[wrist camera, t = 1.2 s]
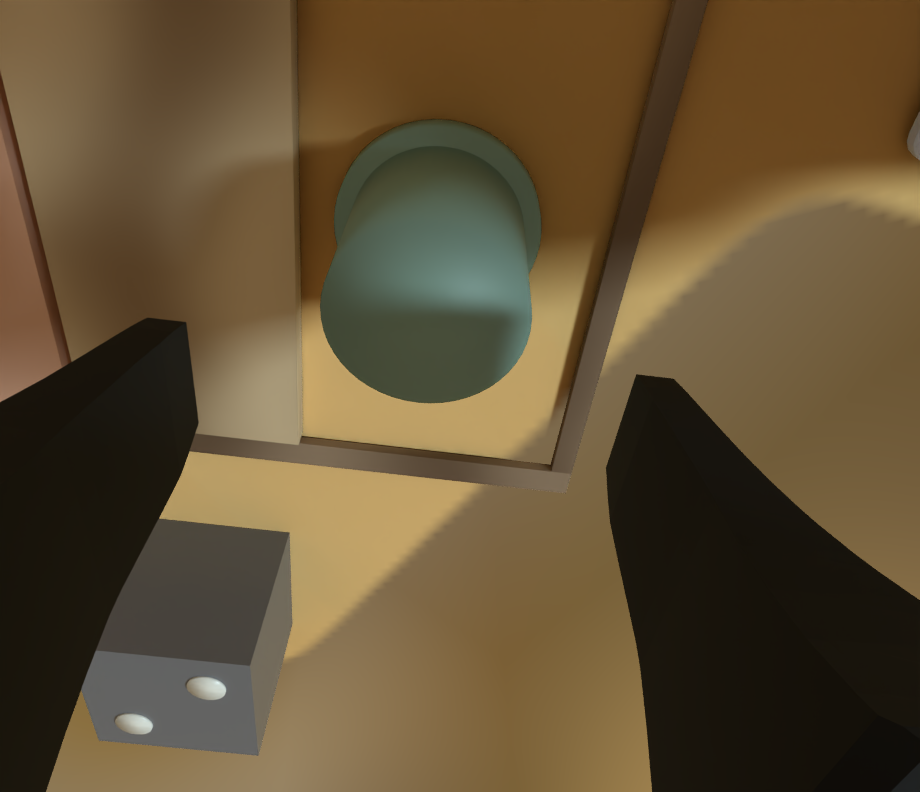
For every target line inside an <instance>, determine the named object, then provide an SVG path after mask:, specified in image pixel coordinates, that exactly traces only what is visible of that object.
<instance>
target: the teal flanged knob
mask: <svg viewBox="0 0 920 792" xmlns="http://www.w3.org/2000/svg"><path fill="white" fill-rule="evenodd" d="M334 229H335V237H336V242H337V246H338V247H337V250H336V252H335V255H334V258H333V260H332V263H331V266H330V268H329V271H328V274H327V276H326V279H325V282H324V285H323V289H322V293H321V303H320V311H321V321H322V325H323V330H324V333H325V335H326V338H327V341H328V343H329V345H330V347H331V348H332V350H333V352H334V354H335V355H336V356H337V358H338V359H339V360H340V362H341V363H342V364H343V365H344V366H345V367H346V368H347V370H348V371H349V372H351V373H352V374H353V375H354V376H355V377H356V378H358V379H359V380H360V381H362V382H363V383H365V384H366V385H368V386H369V387H371V388H373V389H375V390H377V391H379V392H381V393H383V394H386V395H389V396H391V397H394V398H398V399H402V400H406V401H412V402H418V403H444V402H450V401H456V400H460V399H464V398H467V397H470V396H472V395H475V394H478V393H480V392H482V391H484V390H485V389H487V388H489V387H491V386H492V385H494V384H495V383H496V382H498V381H499V380H500V379H502V378H503V377H504V376H505V375H506V374H507V373H508V372H509V371H510V370H511V369H512V367H513V366H514V365H515V364H516V363H517V361H518V359H519V358H520V356H521V355H522V353H523V351H524V349H525V346H526V344H527V341H528V338H529V334H530V330H531V322H532V308H531V297H530V286H529V275H528V274H529V272H530V270H531V269H532V267H533V264H534V262H535V259H536V257H537V253H538V250H539V246H540V239H541V215H540V208H539V202H538V196H537V193H536V190H535V186H534V184H533V182H532V179H531V177H530V175H529V173H528V171H527V170H526V168H525V167H524V165H523V164H522V162H521V161H520V160H519V158H518V157H517V156H516V155H515V154H514V152H513V151H512V150H511V149H509V148H508V147H507V146H506V145H505V144H504V143H503V142H501V141H500V140H499V139H497V138H496V137H494V136H493V135H491V134H490V133H488V132H486V131H484V130H482V129H479V128H477V127H475V126H472V125H469V124H466V123H462V122H457V121H452V120H442V119H430V120H419V121H415V122H410V123H406V124H403V125H400V126H398V127H395V128H393V129H391V130H389V131H387V132H385V133H383V134H381V135H380V136H379V137H377V138H376V139H375V140H373V141H372V142H371V143H369V144H368V145H367V146H366V147H365V148H364V149H363V150H362V151H361V152H360V154H359V155H358V156H357V158H356V159H355V160H354V161H353V163H352V165H351V167H350V168H349V170H348V172H347V174H346V176H345V178H344V181H343V183H342V186H341V188H340V191H339V193H338V197H337V201H336V205H335V214H334Z"/></svg>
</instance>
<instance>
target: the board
mask: <svg viewBox="0 0 920 792" xmlns="http://www.w3.org/2000/svg"><path fill="white" fill-rule="evenodd" d="M707 2H708V0H673V1H672V5H671V9H670V12H669V16H668V20H667V24H666V28H665V31H664V35H663V39H662V43H661V47H660V50H659V54H658V58H657V62H656V66H655V70H654V73H653V77H652V81H651V85H650V89H649V92H648V96H647V100H646V104H645V108H644V111H643V115H642V119H641V123H640V127H639V130H638V134H637V138H636V142H635V146H634V149H633V153H632V157H631V161H630V165H629V169H628V172H627V176H626V180H625V184H624V188H623V191H622V195H621V199H620V203H619V207H618V210H617V214H616V218H615V222H614V226H613V229H612V233H611V237H610V241H609V245H608V249H607V252H606V256H605V260H604V264H603V268H602V271H601V275H600V279H599V283H598V287H597V290H596V294H595V298H594V302H593V306H592V309H591V313H590V317H589V321H588V325H587V328H586V332H585V336H584V340H583V344H582V348H581V351H580V355H579V359H578V363H577V367H576V370H575V374H574V378H573V382H572V386H571V389H570V393H569V397H568V401H567V405H566V408H565V412H564V416H563V420H562V424H561V428H560V431H559V435H558V439H557V443H556V447H555V450H554V454H553V458H552V462H551V465H547V464H538V463H530V462H521V461H512V460H503V459H494V458H486V457H477V456H468V455H459V454H450V453H441V452H433V451H424V450H415V449H406V448H397V447H388V446H380V445H371V444H362V443H353V442H344V441H335V440H326V439H318V438H309V437H301V436H302V433H303V408H302V337H301V266H300V195H299V125H298V54H297V0H0V402H1V401H3V400H5V399H7V398H9V397H10V396H12V395H14V394H16V393H18V392H20V391H22V390H23V389H25V388H27V387H29V386H31V385H33V384H35V383H36V382H38V381H40V380H42V379H44V378H45V377H47V376H49V375H50V374H52V373H54V372H55V371H57V370H59V369H61V368H62V367H64V366H66V365H67V364H69V363H71V362H72V361H74V360H76V359H77V358H79V357H81V356H82V355H84V354H86V353H87V352H89V351H91V350H92V349H94V348H96V347H97V346H99V345H100V344H102V343H104V342H105V341H107V340H109V339H110V338H112V337H114V336H115V335H117V334H119V333H120V332H122V331H124V330H125V329H127V328H129V327H130V326H132V325H134V324H136V323H138V322H139V321H141V320H143V319H145V318H156V319H165V320H173V321H182V322H186V324H187V332H188V340H189V348H190V356H191V364H192V372H193V380H194V388H195V396H196V404H197V412H198V420H199V424H198V427H197V430H196V433H195V436H194V439H193V442H192V445H191V448H190V451H192V452H201V453H210V454H219V455H228V456H237V457H246V458H255V459H264V460H273V461H282V462H291V463H300V464H309V465H318V466H327V467H336V468H345V469H354V470H363V471H372V472H380V473H389V474H398V475H407V476H416V477H425V478H434V479H443V480H452V481H461V482H470V483H479V484H488V485H497V486H506V487H515V488H524V489H533V490H542V491H551V492H560V493H566V491H567V487H568V483H569V480H570V477H571V473H572V470H573V466H574V463H575V459H576V456H577V452H578V449H579V446H580V442H581V439H582V435H583V432H584V428H585V425H586V421H587V418H588V414H589V411H590V407H591V404H592V400H593V397H594V394H595V390H596V387H597V383H598V380H599V376H600V373H601V369H602V366H603V362H604V359H605V356H606V352H607V349H608V345H609V342H610V338H611V335H612V331H613V328H614V324H615V321H616V317H617V314H618V311H619V307H620V304H621V300H622V297H623V293H624V290H625V286H626V283H627V279H628V276H629V272H630V269H631V265H632V262H633V259H634V255H635V252H636V248H637V245H638V241H639V238H640V234H641V231H642V227H643V224H644V220H645V217H646V213H647V210H648V207H649V203H650V200H651V196H652V193H653V189H654V186H655V182H656V179H657V175H658V172H659V168H660V165H661V162H662V158H663V155H664V151H665V148H666V144H667V141H668V137H669V134H670V130H671V127H672V123H673V120H674V116H675V113H676V110H677V106H678V103H679V99H680V96H681V92H682V89H683V85H684V82H685V78H686V75H687V71H688V68H689V64H690V61H691V58H692V54H693V51H694V47H695V44H696V40H697V37H698V33H699V30H700V26H701V23H702V19H703V16H704V13H705V9H706V6H707Z"/></svg>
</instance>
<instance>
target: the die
mask: <svg viewBox="0 0 920 792" xmlns="http://www.w3.org/2000/svg"><path fill="white" fill-rule="evenodd" d="M291 627H292V597H291V565H290V533H288V532H279V531H269V530H260V529H251V528H242V527H232V526H223V525H214V524H204V523H195V522H186V521H177V520H167V519H158V521H157V523H156V525H155V527H154V529H153V530H152V532H151V534H150V536H149V538H148V540H147V542H146V544H145V546H144V548H143V550H142V551H141V553H140V555H139V557H138V559H137V561H136V563H135V565H134V567H133V569H132V571H131V573H130V574H129V576H128V578H127V580H126V582H125V584H124V586H123V588H122V590H121V592H120V594H119V596H118V598H117V601H116V603H115V605H114V607H113V609H112V611H111V613H110V616H109V618H108V621H107V623H106V626H105V628H104V631H103V634H102V636H101V639H100V641H99V644H98V646H97V649H96V652H95V654H94V657H93V659H92V662H91V664H90V667H89V670H88V672H87V675H86V678H85V680H84V683H83V686H82V689H81V690H82V693H83V696H84V699H85V702H86V704H87V708H88V710H89V713H90V716H91V719H92V722H93V725H94V728H95V730H96V733H97V736H98V739H99V740H100V741H111V742H121V743H131V744H142V745H152V746H163V747H173V748H184V749H194V750H205V751H215V752H226V753H237V754H247V755H257V756H258V755H259V751H260V747H261V743H262V740H263V736H264V732H265V728H266V724H267V720H268V716H269V713H270V709H271V705H272V701H273V697H274V693H275V689H276V685H277V681H278V678H279V674H280V670H281V666H282V662H283V658H284V654H285V650H286V647H287V643H288V639H289V635H290V631H291Z"/></svg>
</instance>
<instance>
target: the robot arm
mask: <svg viewBox="0 0 920 792" xmlns="http://www.w3.org/2000/svg"><path fill="white" fill-rule="evenodd" d="M907 145H908V150H909V151H910V152H911V154H912V155H913V156H914V157H916V158H917V159H919V160H920V111H919V113H918V115H917V118H916V120H915V122H914V124H913V126H912V128H911V130H910V132H909V136H908V139H907ZM198 424H199V420H198V412H197V404H196V396H195V388H194V380H193V372H192V364H191V356H190V348H189V340H188V332H187V324H186V322H182V321H173V320H165V319H156V318H145V319H143V320H141V321H139V322H138V323H136V324H134V325H132V326H130V327H129V328H127V329H125V330H124V331H122V332H120V333H119V334H117V335H115V336H114V337H112V338H110V339H109V340H107V341H105V342H104V343H102V344H100V345H99V346H97V347H96V348H94V349H92V350H91V351H89V352H87V353H86V354H84V355H82V356H81V357H79V358H77V359H76V360H74V361H72V362H71V363H69V364H67V365H66V366H64V367H62V368H61V369H59V370H57V371H55V372H54V373H52V374H50V375H49V376H47V377H45V378H44V379H42V380H40V381H38V382H36V383H35V384H33V385H31V386H29V387H27V388H25V389H23V390H22V391H20V392H18V393H16V394H14V395H12V396H10V397H9V398H7V399H5V400H3V401H1V402H0V792H46V790H47V786H48V784H49V780H50V777H51V775H52V772H53V769H54V766H55V763H56V760H57V757H58V754H59V751H60V748H61V744H62V742H63V739H64V736H65V732H66V730H67V727H68V725H69V722H70V719H71V716H72V714H73V711H74V708H75V705H76V702H77V699H78V697H79V693H80V691H81V689H82V686H83V683H84V680H85V678H86V675H87V672H88V670H89V667H90V664H91V662H92V659H93V657H94V654H95V652H96V649H97V646H98V644H99V641H100V639H101V636H102V634H103V631H104V628H105V626H106V623H107V621H108V618H109V616H110V613H111V611H112V609H113V607H114V605H115V603H116V601H117V598H118V596H119V594H120V592H121V590H122V588H123V586H124V584H125V582H126V580H127V578H128V576H129V574H130V573H131V571H132V569H133V567H134V565H135V563H136V561H137V559H138V557H139V555H140V553H141V551H142V550H143V548H144V546H145V544H146V542H147V540H148V538H149V536H150V534H151V532H152V530H153V529H154V527H155V525H156V523H157V521H158V519H159V517H160V515H161V513H162V511H163V509H164V507H165V505H166V503H167V501H168V500H169V498H170V496H171V494H172V492H173V490H174V488H175V486H176V484H177V482H178V480H179V478H180V476H181V473H182V470H183V468H184V465H185V462H186V459H187V457H188V454H189V451H190V448H191V445H192V442H193V439H194V436H195V433H196V430H197V427H198ZM606 474H607V491H608V504H609V515H610V524H611V529H612V534H613V539H614V543H615V548H616V552H617V557H618V562H619V567H620V571H621V576H622V580H623V585H624V589H625V594H626V599H627V603H628V608H629V612H630V617H631V622H632V626H633V631H634V635H635V640H636V645H637V651H638V657H639V663H640V670H641V679H642V688H643V697H644V706H645V716H646V725H647V735H648V747H649V759H650V771H651V782H652V792H920V600H919V599H917V598H916V597H914V596H913V595H911V594H910V593H908V592H907V591H905V590H904V589H903V588H901V587H900V586H898V585H897V584H896V583H894V582H893V581H891V580H890V579H888V578H887V577H885V576H884V575H883V574H881V573H880V572H878V571H877V570H876V569H874V568H873V567H872V566H870V565H869V564H868V563H866V562H865V561H863V560H862V559H861V558H859V557H858V556H857V555H856V554H854V553H853V552H852V551H850V550H849V549H848V548H847V547H845V546H844V545H843V544H842V543H841V542H839V541H838V540H837V539H836V538H834V537H833V536H832V535H831V534H829V533H828V532H827V531H826V530H824V529H823V528H822V527H821V526H819V525H818V524H817V523H816V522H814V520H812V519H811V518H810V517H809V516H808V515H807V514H805V513H804V512H803V511H802V510H801V509H800V508H799V507H798V506H797V505H795V504H794V503H793V502H792V501H791V500H790V499H789V498H788V497H787V496H786V495H785V494H784V493H783V492H781V490H779V489H778V488H777V487H776V486H775V485H774V484H773V483H772V482H771V481H770V480H769V479H768V478H767V477H766V476H765V475H764V474H763V473H762V472H761V471H760V470H759V469H758V468H757V467H756V466H754V464H753V463H752V462H751V461H750V460H749V459H748V458H747V457H746V456H745V455H744V454H743V453H742V452H741V451H740V450H739V449H738V448H737V447H736V445H735V444H734V443H733V442H732V441H731V440H730V439H729V438H728V437H727V436H726V435H725V434H724V433H723V432H722V430H721V429H720V428H719V427H718V426H717V425H716V424H715V423H714V422H713V421H712V419H711V418H710V417H709V416H708V415H707V414H706V413H705V412H704V411H703V410H702V409H701V407H700V406H699V405H698V404H697V403H696V402H695V401H694V400H693V399H692V397H690V395H689V394H688V393H687V392H686V391H685V390H684V389H683V388H682V387H681V386H680V385H679V384H678V383H677V382H676V381H675V380H674V379H671V378H662V377H654V376H645V375H636V377H635V380H634V384H633V386H632V389H631V393H630V396H629V399H628V402H627V405H626V408H625V411H624V414H623V417H622V421H621V423H620V426H619V430H618V433H617V436H616V439H615V442H614V445H613V448H612V451H611V454H610V458H609V460H608V464H607V467H606Z"/></svg>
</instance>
